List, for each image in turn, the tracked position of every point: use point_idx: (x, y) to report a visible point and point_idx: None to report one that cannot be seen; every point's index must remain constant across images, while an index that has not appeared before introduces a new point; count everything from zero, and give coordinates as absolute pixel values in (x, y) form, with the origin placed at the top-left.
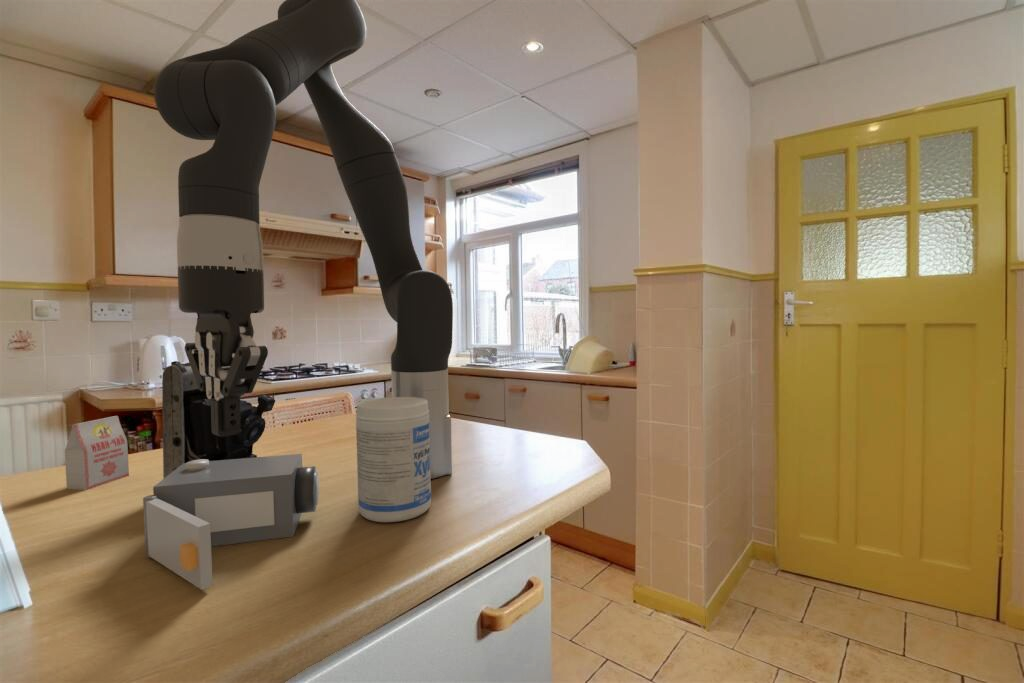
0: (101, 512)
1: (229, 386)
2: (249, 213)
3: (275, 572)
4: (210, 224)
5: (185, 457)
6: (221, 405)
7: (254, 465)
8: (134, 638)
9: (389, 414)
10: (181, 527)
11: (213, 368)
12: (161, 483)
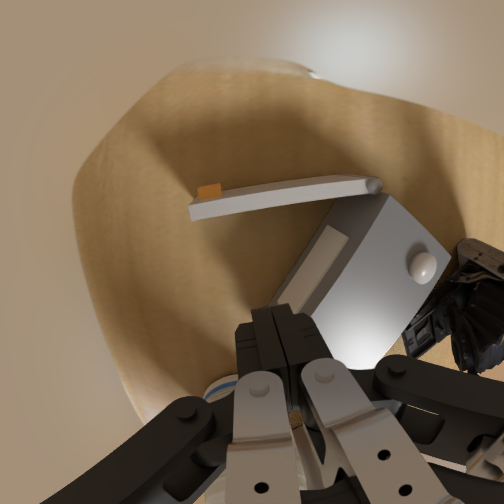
0: (474, 182)
1: (154, 427)
2: None
3: (190, 266)
4: None
5: (484, 268)
6: (260, 368)
7: (366, 330)
8: (162, 132)
9: (213, 487)
10: (245, 193)
11: (238, 477)
12: (396, 208)
